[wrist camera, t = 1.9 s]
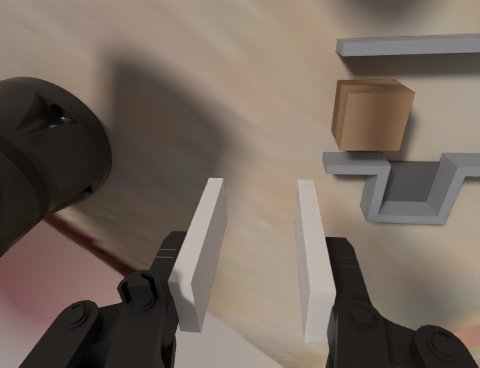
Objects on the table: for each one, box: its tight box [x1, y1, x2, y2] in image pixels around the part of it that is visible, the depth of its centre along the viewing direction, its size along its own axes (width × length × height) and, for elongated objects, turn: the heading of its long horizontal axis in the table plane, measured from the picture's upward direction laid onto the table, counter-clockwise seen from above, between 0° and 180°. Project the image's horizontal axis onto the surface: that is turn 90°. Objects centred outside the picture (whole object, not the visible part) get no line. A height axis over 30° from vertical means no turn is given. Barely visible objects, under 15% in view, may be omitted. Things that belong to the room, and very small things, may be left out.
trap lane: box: [323, 34, 480, 225], centre depth 26 cm, size 23×24×3 cm
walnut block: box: [331, 79, 415, 151], centre depth 26 cm, size 5×5×5 cm
